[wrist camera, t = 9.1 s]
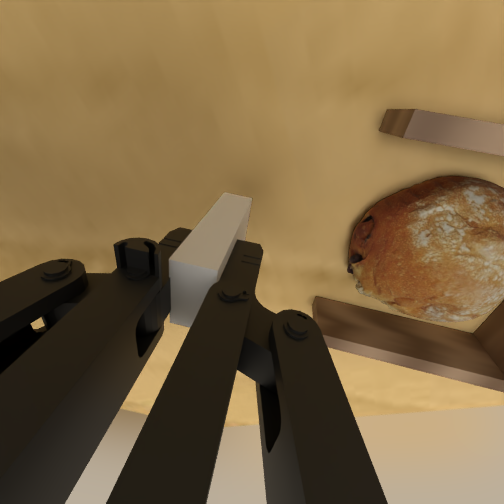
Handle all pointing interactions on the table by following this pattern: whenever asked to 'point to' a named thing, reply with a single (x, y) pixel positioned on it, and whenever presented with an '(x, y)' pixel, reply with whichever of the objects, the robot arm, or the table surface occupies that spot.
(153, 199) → the table surface
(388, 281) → the bread roll
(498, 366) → the corral
